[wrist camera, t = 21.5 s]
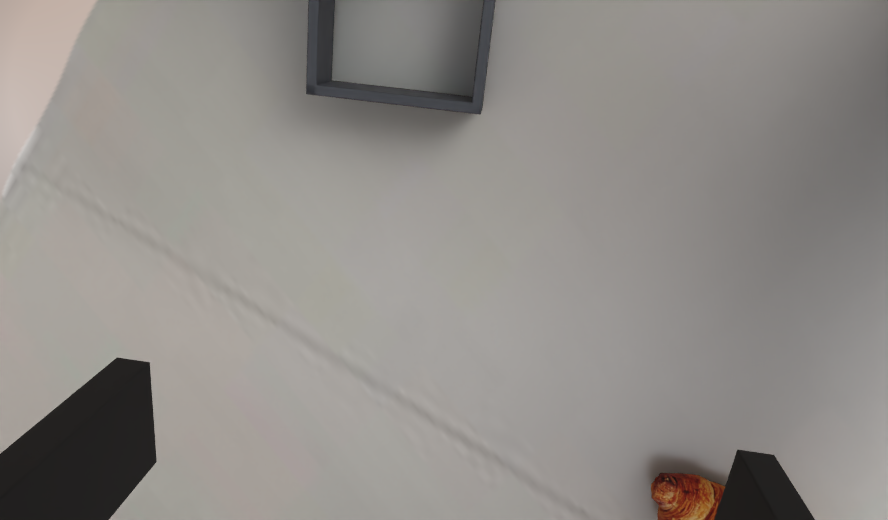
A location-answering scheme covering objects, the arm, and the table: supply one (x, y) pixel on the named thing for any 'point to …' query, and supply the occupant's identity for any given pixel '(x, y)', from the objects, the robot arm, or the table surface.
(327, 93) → the rectangular tray
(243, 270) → the table surface
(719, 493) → the croissant
